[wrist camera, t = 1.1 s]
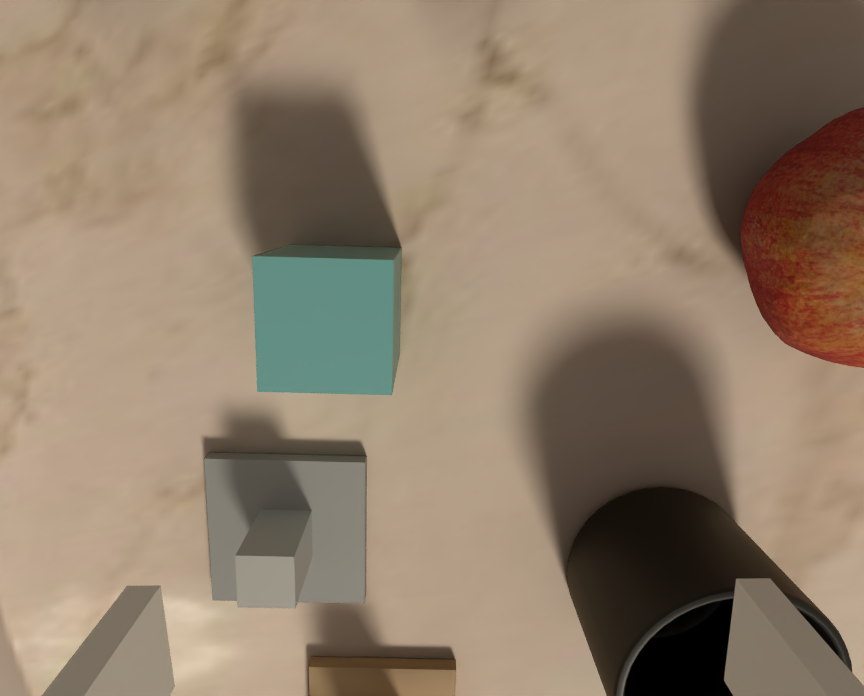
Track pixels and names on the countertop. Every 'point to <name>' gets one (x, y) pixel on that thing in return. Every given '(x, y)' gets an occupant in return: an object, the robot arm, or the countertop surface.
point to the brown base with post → (381, 677)
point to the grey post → (286, 528)
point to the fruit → (812, 243)
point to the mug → (669, 592)
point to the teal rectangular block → (327, 319)
